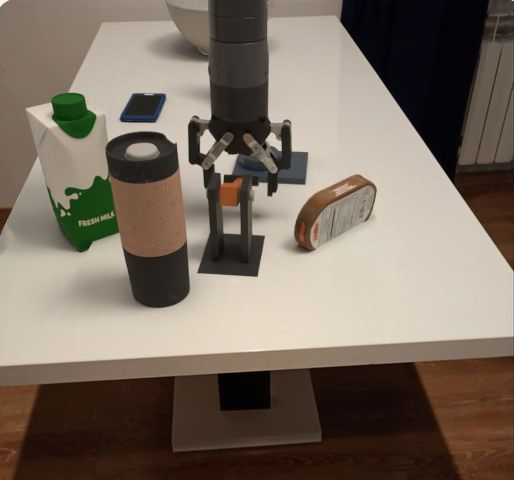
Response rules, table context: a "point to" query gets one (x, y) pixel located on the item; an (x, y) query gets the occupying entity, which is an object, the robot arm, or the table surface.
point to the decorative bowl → (195, 20)
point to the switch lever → (233, 189)
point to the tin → (334, 211)
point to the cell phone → (143, 107)
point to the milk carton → (75, 166)
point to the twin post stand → (231, 235)
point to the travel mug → (150, 216)
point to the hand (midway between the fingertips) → (240, 192)
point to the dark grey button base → (289, 176)
